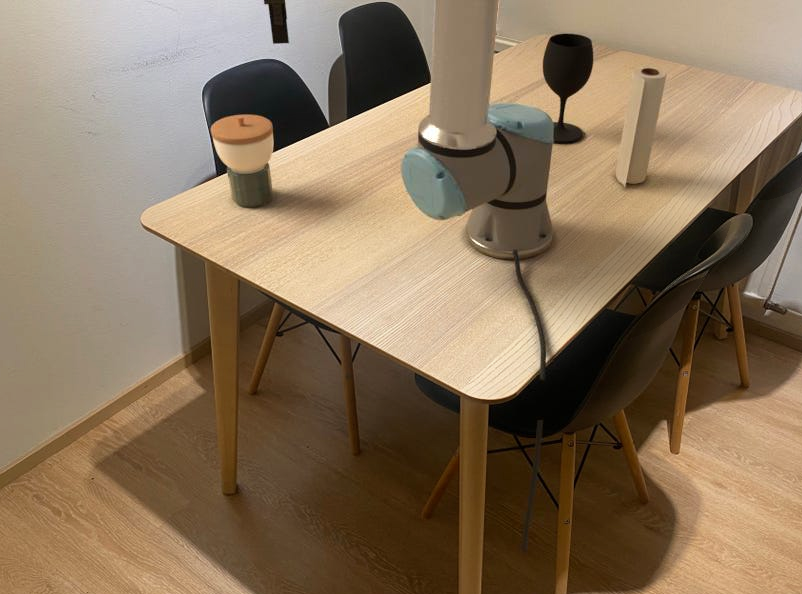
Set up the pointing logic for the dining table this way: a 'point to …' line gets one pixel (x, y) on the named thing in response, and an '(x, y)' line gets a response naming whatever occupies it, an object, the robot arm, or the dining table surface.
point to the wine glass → (567, 76)
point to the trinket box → (243, 142)
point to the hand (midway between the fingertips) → (280, 30)
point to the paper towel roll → (640, 124)
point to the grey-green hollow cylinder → (251, 187)
